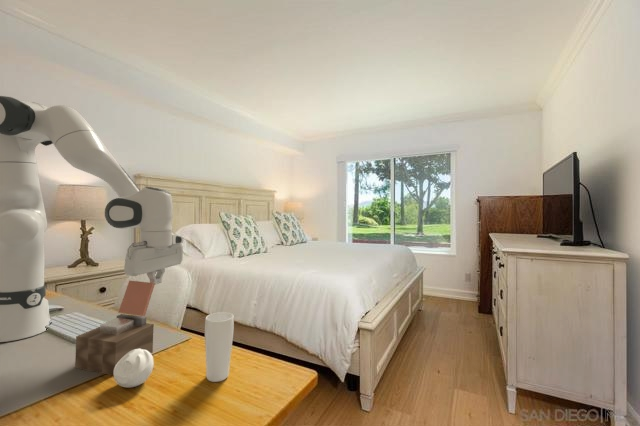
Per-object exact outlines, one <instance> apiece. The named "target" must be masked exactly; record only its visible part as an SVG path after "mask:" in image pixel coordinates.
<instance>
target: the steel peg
mask: <svg viewBox="0 0 640 426" xmlns="http://www.w3.org/2000/svg"><path fill="white" fill-rule="evenodd" d="M133 324H134V320H130V319H122V318H117V317H116V318H114V319H112V320H109V321H107V322H104V323H101V324H100V325H99V327H100V333H106V334H113V335H118V334H120V333H122V332H124V331H126V330H129V329H131V328H133Z"/></svg>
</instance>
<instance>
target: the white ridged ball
mask: <svg viewBox="0 0 640 426" xmlns="http://www.w3.org/2000/svg"><path fill="white" fill-rule="evenodd" d="M154 365H155V364H154V355H152V353H150V352H149V351H147V350H144V349H140V348H139V349H134V350H132V351H130V352H128V353H127V354H126V355H124V356H123V357H122V358H121V359H120V360H119V362H118V363H117V364H116V366H115V368H114V371H113V378H114V381H115V382H116V383H115V384H117V385H119V386H120V387H123V388H126V389H127V388H134V387H138V386H140V385H141V384H143V383H145V382H146V381H147V380H148V379H149V377H150V375H151V374H152V372H153V369H154Z"/></svg>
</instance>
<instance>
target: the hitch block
mask: <svg viewBox="0 0 640 426" xmlns="http://www.w3.org/2000/svg"><path fill="white" fill-rule="evenodd" d="M116 318H122V319H130V320H134V324H133V328H131V329H129V330H126V331H124V332H122V333H120V334H118V335H113V334H106V333H100V326H99V327H96V328H94V329H91V330H89V331H86V332H84V333H83V332H82V333H81V334H79V335H76V336H75V367H74V368H75V369H79V370H86V371H88V372H89V371H90V372H95V373H101V374H106V375H113V371H114V368H115V366H116V364H117V363H118V362H119V360H120V359H121V358H122V357H123V356H124V355H126V354H127V353H128V352H130V351H132V350H134V349H139V348H140V349H144V350H147V351H149V352H150V353H151V354H152V353H153V351H154V323H150V322H149V323H148V322H147V316H141V315H134V314H126V313H120V314H118V315H116ZM113 376H114V375H113Z"/></svg>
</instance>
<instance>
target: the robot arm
mask: <svg viewBox="0 0 640 426" xmlns="http://www.w3.org/2000/svg"><path fill="white" fill-rule="evenodd" d="M39 144H41V145H43V146H50V145H53V146H54V147H55V149H56V150H57V151H58V153H59V155H60V156H61V157H62V158H63V159H64V160H65V161H66V162H67V163H68V164H69V165H70V166H71V167H73V168H75V169H77V170H80V171H83V172H85V173H87V174H90V175H92V176H94V177H97V178H99V179H100V180H102V181H104V182H105V183H107V184H108V185H109V186H110V187H111V189H112V190H113V192H115V194H117V195H118V197H115V198H113V199H111V200H110V201H109V202H107V204H106V206H105V208H104V217H105V218H104V219H106V222H107V223H108V225H110V226H111V227H113V228H116V229H121V230H127V229H137V228H139V242H133V243H131V244H130V245H129V246H128V247H127V249H126V254H125V261H124V266H123V269H124V270H123V272H124V274H125V275H126V276H130V277H136V276H137V277H138V276H142V275H144V274H146V276H147V277H148V279H149V283H155V285H154V286H157V285H159V284H161V283H162V280H163V276H164V273H165V272H166V268H171V267H174V266H177V265H181V264H182V261H183V258H184V257H183V256H184V249H183V248H184V247H183V244H182V243H183V242H184V237H183V236H181V235H178V234H175V233H173V230H174V229H173V225H172V221H173V218H174V208H173V206H174V205H173V197H172V194H171V192H170V191H168V190H167V189H164V188H158V187H153V186H145V187H143V188H142V189H141V188H139V187H138V185H137V184H136V183H135V182H134V180H133V179H132V178H131V176H130V175H129V174H128V172H126V170H125V169H124V168H123V167H122V165H120V163H119V162H118V161H117V160H116V158H115V157H114V156H113V154H112V153H111V152H110V151H109V149H108V148H107V146H106V145H105V144H104V142H103V141H102V139H101V137H100V136H99V135H98V134H97V132H96V131H95V129H94V128H93V127H92V126H91V125H90V123H89V122H88V121H87V120H86V119H85V118H84V116H83V115H81V113H79V111H77V110H76V109H75V108H73V107H71V106H68V105H61V104H60V105H54V106H50V107H49V106H47V105H43V104H41V103H37V102H34V101H27V100H23V99H18V98H17V99H16V98H14V97H11V96H6V95H0V343H5V342H13V341H17V340H23V339H26V338H30V337H35V336H37V335H39V334H41V333H44V332H45V331H47V330H46V328H45V326H46V325H48V324H49V321H50V320H51V319H52V318H50V308H49V300H48V299H47V298H45V296H46V295H47V285H46V284H45V267H46V265H45V264H46V263H45V262H46V261H45V260H46V258H45V257H46V256H45V233H46V231H47V229H48V220H47V215H46V209H45V205H44V203H45V202H44V200H43V193H42V189H41V183H40V176H39V170H38V162H37V157H36V148H37V146H38V145H39Z"/></svg>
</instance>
